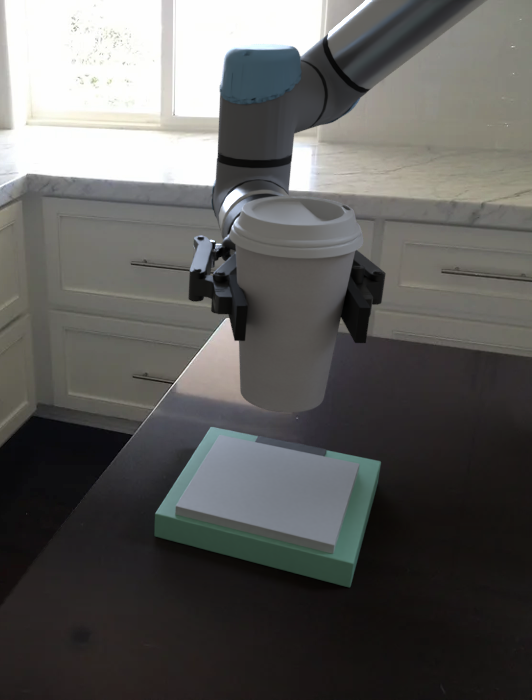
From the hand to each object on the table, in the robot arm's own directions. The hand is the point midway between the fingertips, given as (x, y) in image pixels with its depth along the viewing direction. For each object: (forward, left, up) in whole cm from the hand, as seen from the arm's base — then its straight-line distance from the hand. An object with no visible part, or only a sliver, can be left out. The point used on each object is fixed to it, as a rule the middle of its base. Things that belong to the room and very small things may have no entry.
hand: (301, 324), depth 61 cm
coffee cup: (-2, -4, -8) cm, 10 cm away
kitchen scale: (-1, -3, -18) cm, 18 cm away
